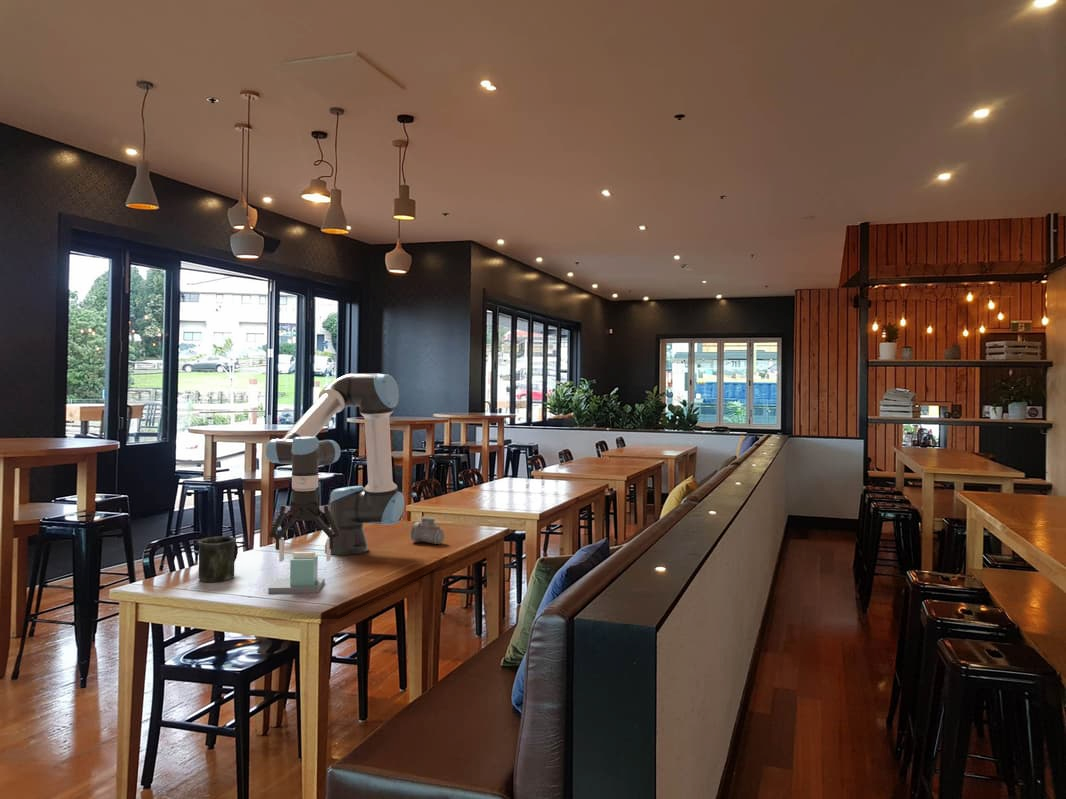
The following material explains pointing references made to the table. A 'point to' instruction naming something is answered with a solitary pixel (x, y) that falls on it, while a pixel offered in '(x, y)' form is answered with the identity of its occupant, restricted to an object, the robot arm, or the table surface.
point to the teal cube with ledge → (303, 569)
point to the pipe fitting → (427, 531)
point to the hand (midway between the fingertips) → (305, 560)
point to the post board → (284, 586)
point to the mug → (217, 558)
